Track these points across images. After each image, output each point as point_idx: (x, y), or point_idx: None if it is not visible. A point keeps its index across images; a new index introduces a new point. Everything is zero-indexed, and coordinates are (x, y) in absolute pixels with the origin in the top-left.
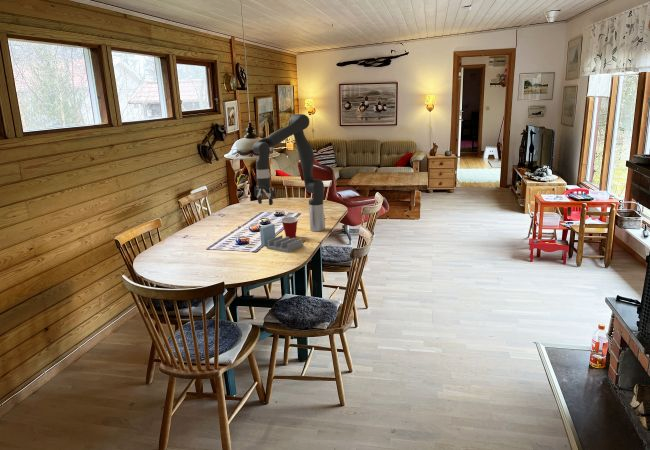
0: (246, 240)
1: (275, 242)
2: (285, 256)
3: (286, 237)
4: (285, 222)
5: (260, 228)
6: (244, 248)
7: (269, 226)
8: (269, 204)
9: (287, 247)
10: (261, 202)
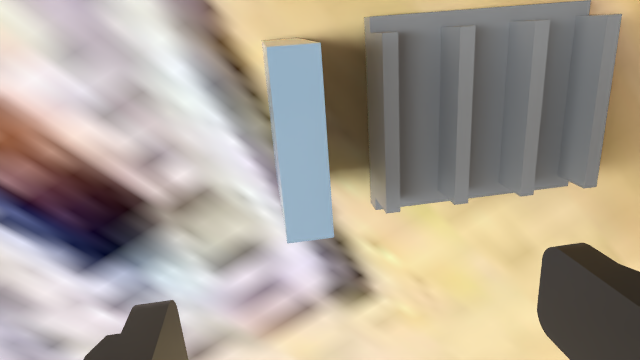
0: (43, 157)
1: (466, 198)
2: (582, 237)
3: (471, 57)
4: None
5: (295, 238)
6: (228, 289)
7: (326, 135)
8: (560, 334)
9: (567, 179)
10: (171, 321)
